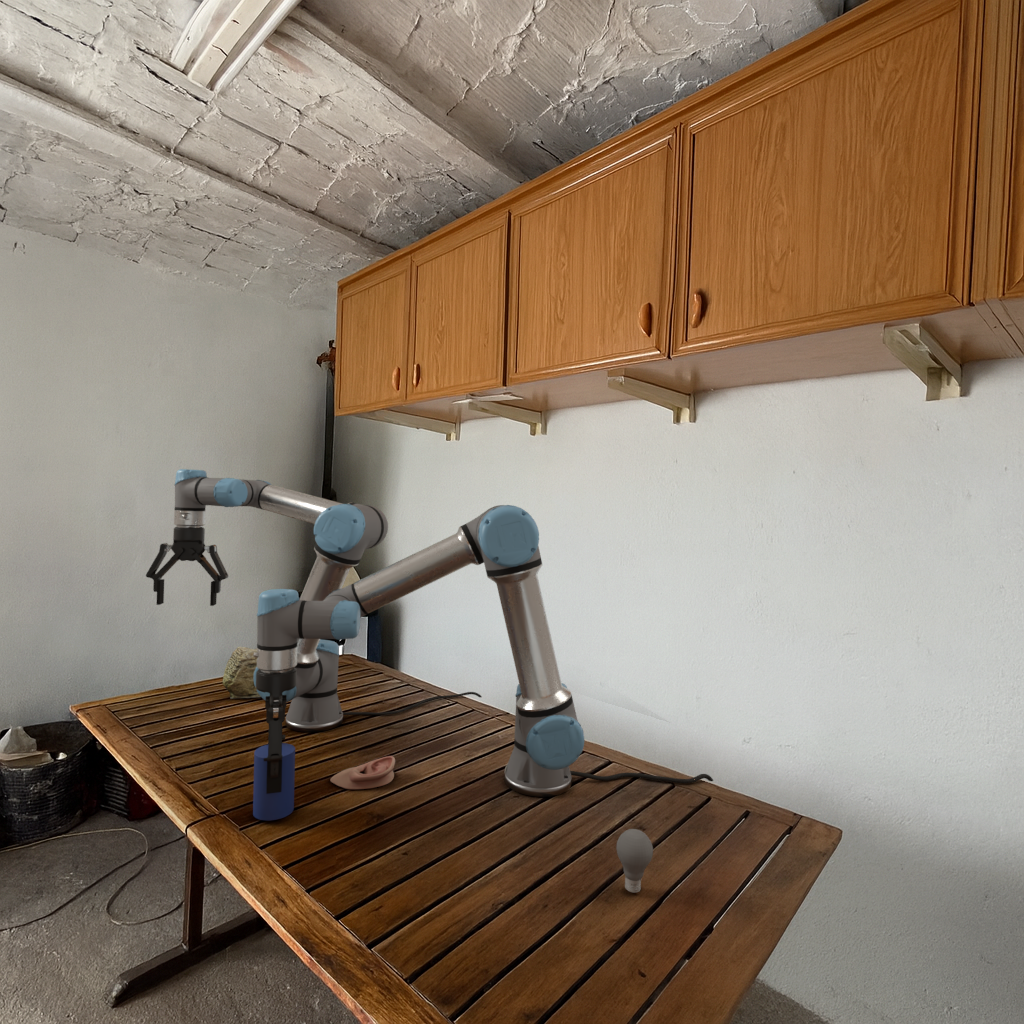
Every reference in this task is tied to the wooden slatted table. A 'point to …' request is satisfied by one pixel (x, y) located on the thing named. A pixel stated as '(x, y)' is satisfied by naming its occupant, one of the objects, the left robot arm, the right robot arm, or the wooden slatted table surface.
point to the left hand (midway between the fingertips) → (186, 604)
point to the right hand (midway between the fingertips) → (274, 782)
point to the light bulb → (634, 857)
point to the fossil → (241, 673)
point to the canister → (263, 803)
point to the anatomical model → (366, 774)
